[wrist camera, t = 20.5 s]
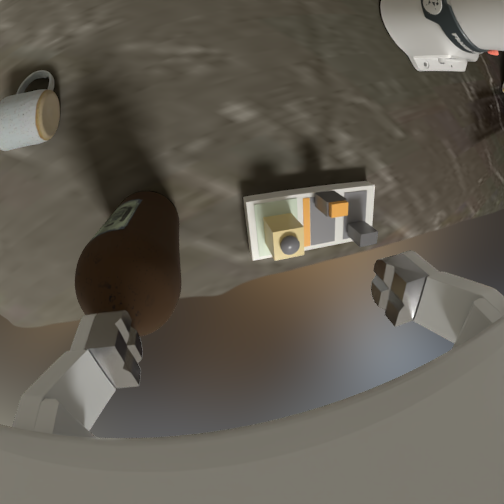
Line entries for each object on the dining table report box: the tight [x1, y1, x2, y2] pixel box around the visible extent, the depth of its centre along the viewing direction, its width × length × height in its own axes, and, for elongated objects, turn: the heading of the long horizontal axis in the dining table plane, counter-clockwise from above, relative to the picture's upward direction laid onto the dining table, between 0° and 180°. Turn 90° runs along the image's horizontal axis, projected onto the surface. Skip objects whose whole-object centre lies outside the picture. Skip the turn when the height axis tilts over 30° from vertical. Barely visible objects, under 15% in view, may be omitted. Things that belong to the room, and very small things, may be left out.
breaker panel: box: [243, 181, 375, 260], centre depth 42 cm, size 20×9×3 cm, turn 96°
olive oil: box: [75, 191, 181, 336], centre depth 27 cm, size 11×11×25 cm
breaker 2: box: [347, 221, 378, 247], centre depth 40 cm, size 3×2×4 cm, turn 96°
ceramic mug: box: [0, 70, 60, 151], centre depth 23 cm, size 11×8×8 cm
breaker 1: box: [315, 191, 348, 218], centre depth 37 cm, size 3×2×5 cm, turn 96°
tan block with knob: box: [263, 213, 304, 261], centre depth 37 cm, size 4×4×6 cm
